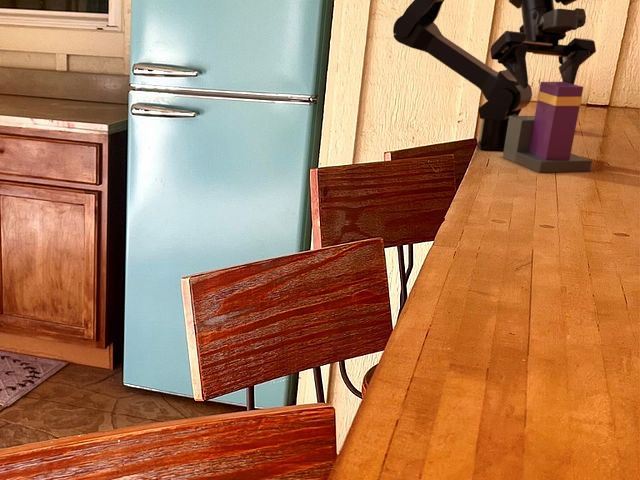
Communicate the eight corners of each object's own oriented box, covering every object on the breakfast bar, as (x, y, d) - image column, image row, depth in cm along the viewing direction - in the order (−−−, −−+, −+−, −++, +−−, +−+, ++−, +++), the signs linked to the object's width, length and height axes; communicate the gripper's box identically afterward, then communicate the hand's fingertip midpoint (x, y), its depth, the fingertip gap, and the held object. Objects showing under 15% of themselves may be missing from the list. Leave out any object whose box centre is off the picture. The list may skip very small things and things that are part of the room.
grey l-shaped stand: (502, 157, 175) (509, 116, 172) (549, 156, 177) (557, 115, 173) (539, 172, 163) (547, 128, 159) (589, 171, 164) (598, 127, 161)
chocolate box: (545, 160, 163) (558, 87, 158) (528, 151, 170) (540, 81, 165) (569, 159, 164) (584, 86, 158) (551, 151, 171) (564, 81, 165)
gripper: (518, -16, 160) (527, 61, 157) (610, -6, 163) (621, 70, 160) (485, 20, 171) (493, 94, 167) (572, 29, 174) (581, 101, 171)
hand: (547, 89), depth 166 cm, fingers open, 9 cm apart
